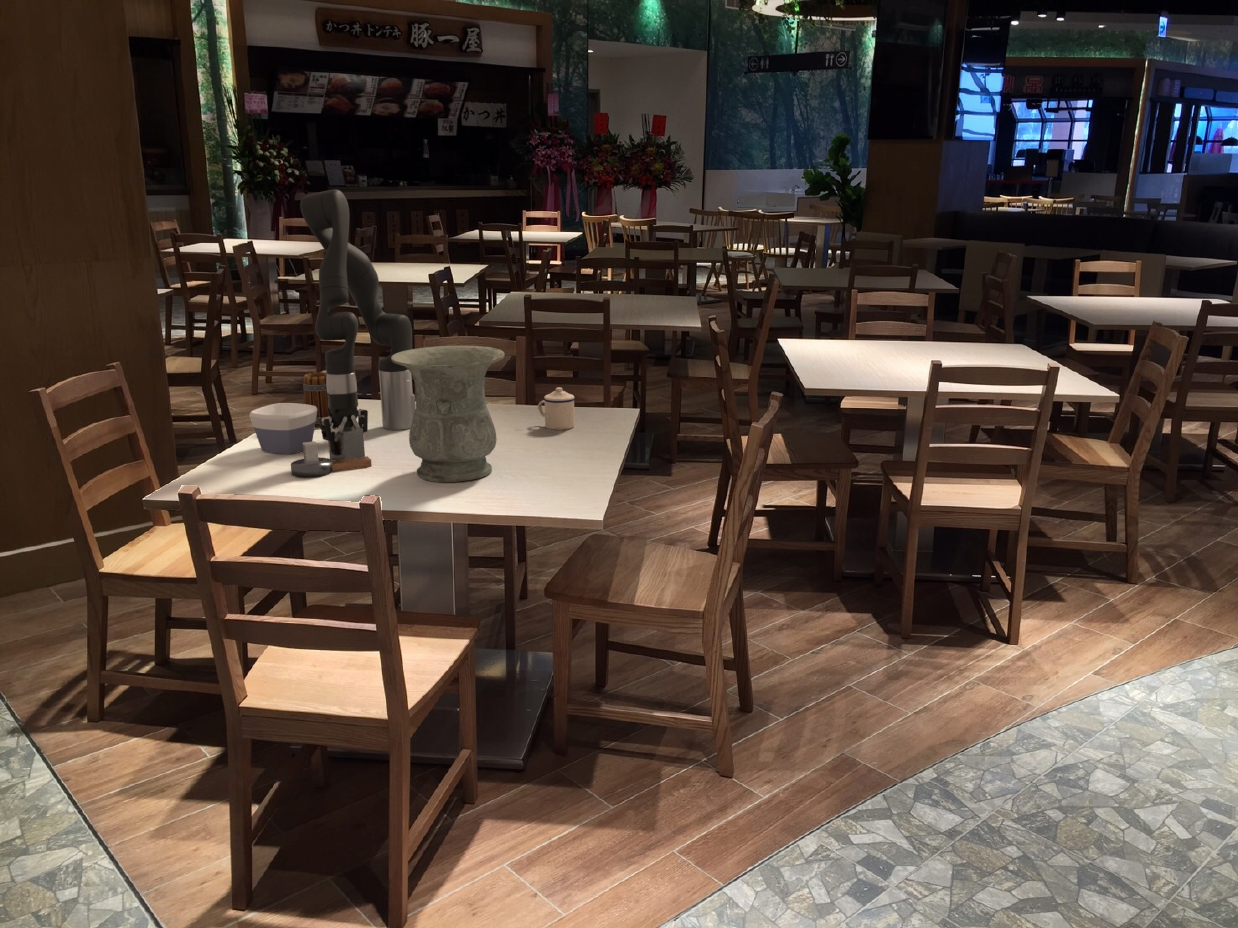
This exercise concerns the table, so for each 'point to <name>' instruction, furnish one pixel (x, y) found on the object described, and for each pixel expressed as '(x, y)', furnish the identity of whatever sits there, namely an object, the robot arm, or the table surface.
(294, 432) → the bowl
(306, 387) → the mug
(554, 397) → the teacup with lid
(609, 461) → the table surface
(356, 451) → the grey rectangular block
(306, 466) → the dark handled piece
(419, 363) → the vessel
